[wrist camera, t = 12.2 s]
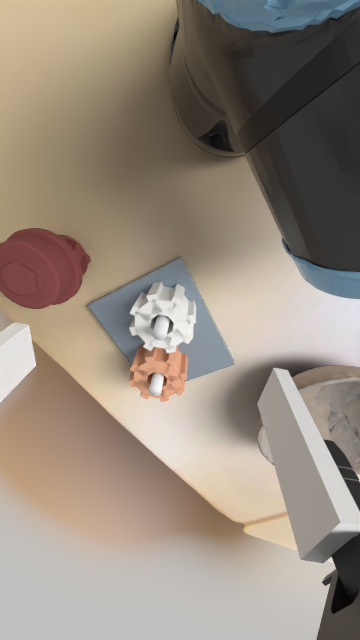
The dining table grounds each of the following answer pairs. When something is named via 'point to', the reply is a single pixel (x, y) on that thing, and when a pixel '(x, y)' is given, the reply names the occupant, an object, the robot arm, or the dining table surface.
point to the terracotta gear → (159, 371)
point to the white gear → (168, 305)
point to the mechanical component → (41, 268)
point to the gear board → (203, 329)
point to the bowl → (329, 408)
